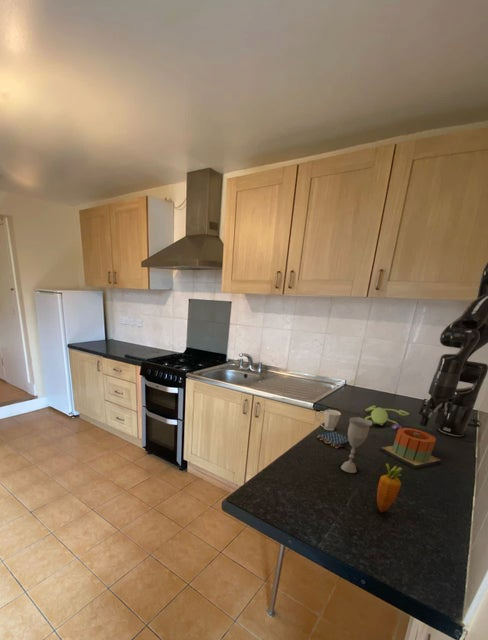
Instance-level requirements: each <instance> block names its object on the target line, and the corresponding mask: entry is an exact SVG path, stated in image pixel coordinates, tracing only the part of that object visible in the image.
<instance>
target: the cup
mask: <svg viewBox="0 0 488 640" xmlns="http://www.w3.org/2000/svg"><path fill="white" fill-rule="evenodd" d="M320 413H322V414H323V415H324V416H323V417H324V419H323V422H324V423H323V424H324V425H323V424H322V423H321V422H320V420H319V417H318V416H319V414H320ZM341 415H342V414H341V412H340V411H339V410H335V409H329V408H328V409H324V410H320V411H319V412H317V414H316V416H315V419H316V421H317V423H318V424H319V425H320V426H321V427H322V428H323V429H324V430H326V431H328V432H331V431H333V432H335V429H336V427H337V425H338V423H339V420H340V418H341Z"/></svg>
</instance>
